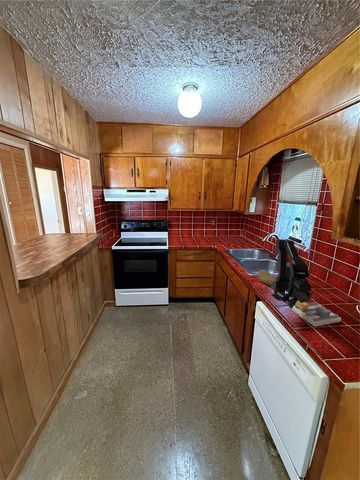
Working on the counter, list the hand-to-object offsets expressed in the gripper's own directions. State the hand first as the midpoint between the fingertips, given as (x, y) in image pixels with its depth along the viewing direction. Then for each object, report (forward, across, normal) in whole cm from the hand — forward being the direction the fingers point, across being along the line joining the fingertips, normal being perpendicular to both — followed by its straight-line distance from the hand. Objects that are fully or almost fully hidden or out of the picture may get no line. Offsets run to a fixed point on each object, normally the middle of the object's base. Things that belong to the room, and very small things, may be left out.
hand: (290, 308), depth 113 cm
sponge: (+4, +14, +39) cm, 41 cm away
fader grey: (+2, +14, -8) cm, 16 cm away
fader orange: (+2, +8, 0) cm, 8 cm away
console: (+4, +14, -4) cm, 15 cm away
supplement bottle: (+4, +31, +37) cm, 48 cm away
